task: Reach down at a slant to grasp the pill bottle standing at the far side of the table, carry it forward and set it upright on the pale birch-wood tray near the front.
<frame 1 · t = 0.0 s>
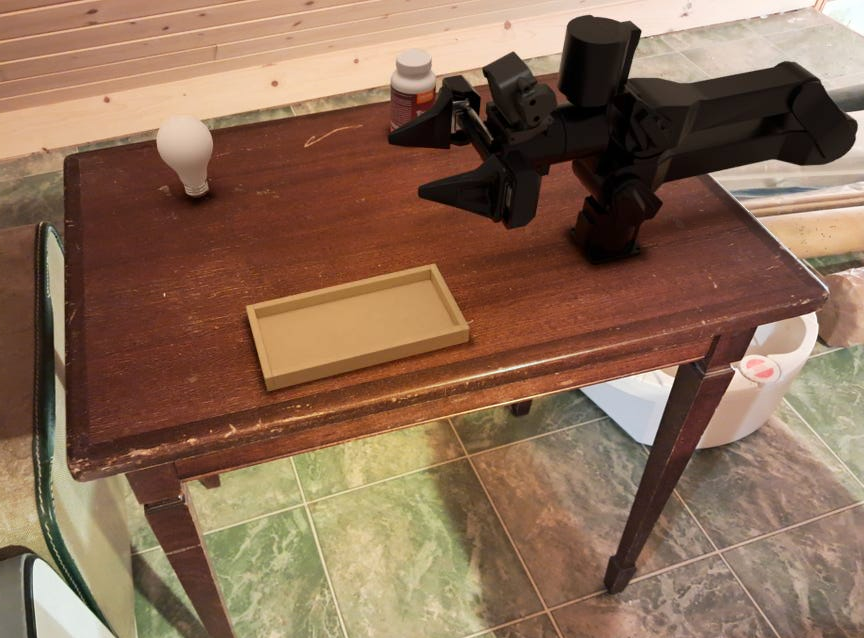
hand: (402, 164, 69), 17 cm above the table, tool horizontal, fingers open, 9 cm apart
pill bottle: (412, 133, 102), on the table
light bulb: (198, 196, 94), on the table
tray: (356, 330, 78), on the table
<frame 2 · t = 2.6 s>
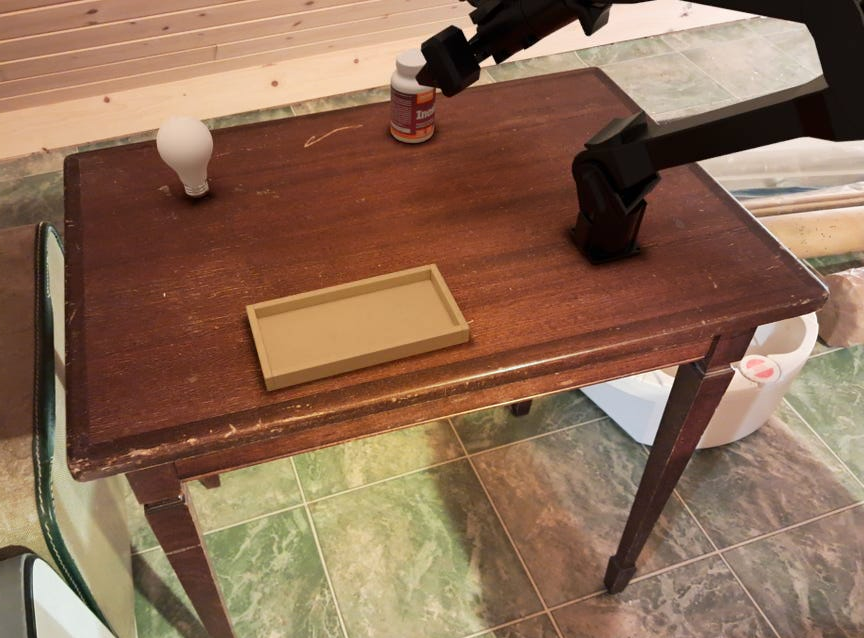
hand: (441, 65, 86), 14 cm above the table, tool tilted 50°, fingers open, 9 cm apart
nothing on the table moved.
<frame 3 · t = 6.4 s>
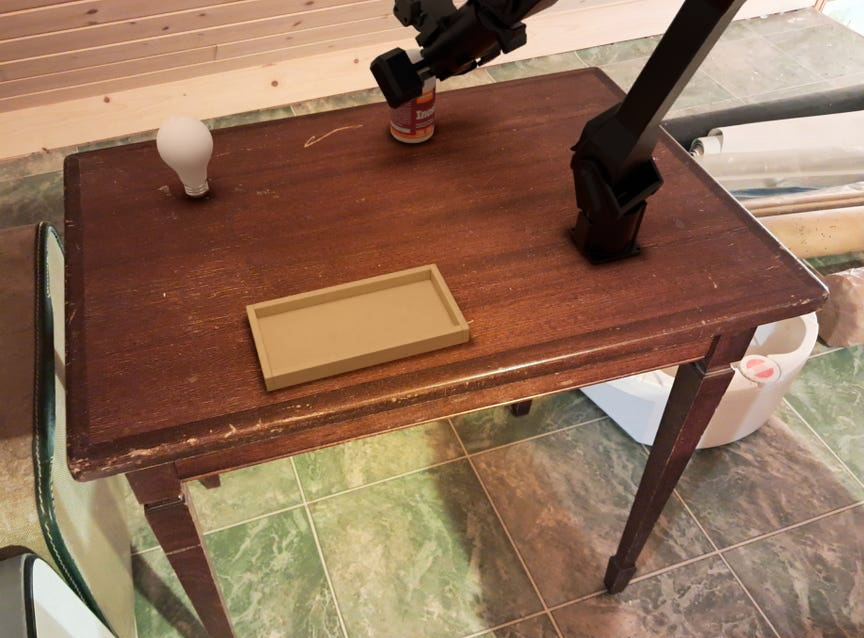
hand: (406, 84, 98), 7 cm above the table, tool tilted 45°, fingers closed on pill bottle, 6 cm apart
pill bottle: (412, 133, 102), on the table, touching gripper
everything else where it was.
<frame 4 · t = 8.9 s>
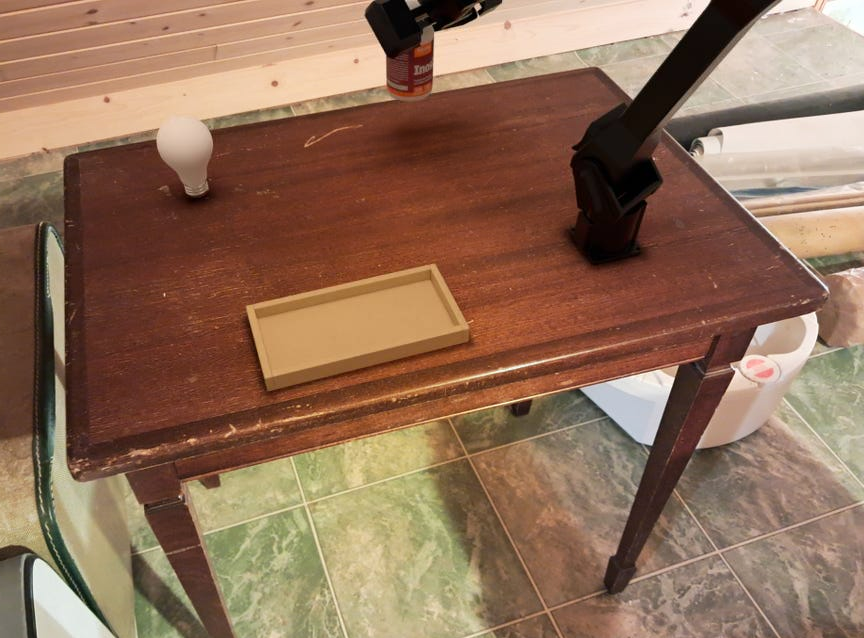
hand: (402, 39, 93), 13 cm above the table, tool tilted 45°, fingers closed on pill bottle, 6 cm apart
pill bottle: (409, 92, 97), point 6 cm above the table, touching gripper
everything else where it was.
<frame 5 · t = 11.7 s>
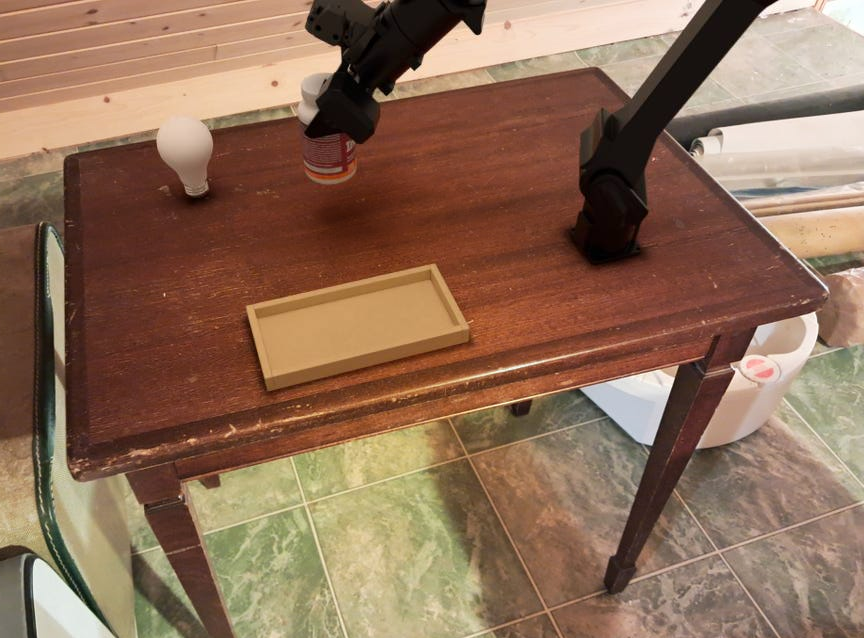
hand: (314, 119, 81), 13 cm above the table, tool tilted 45°, fingers closed on pill bottle, 6 cm apart
pill bottle: (331, 172, 85), point 6 cm above the table, touching gripper
everything else where it was.
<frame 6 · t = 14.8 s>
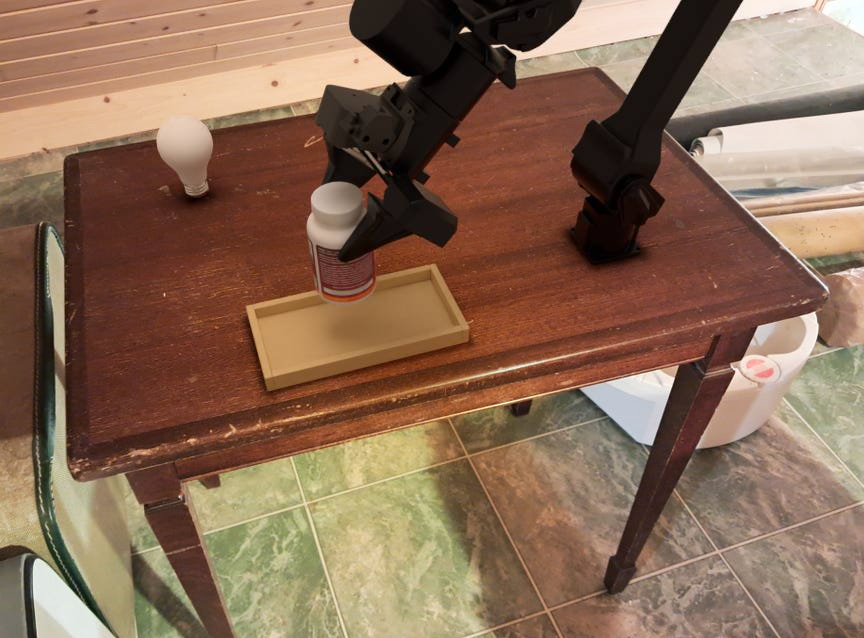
hand: (327, 239, 67), 13 cm above the table, tool tilted 45°, fingers closed on pill bottle, 6 cm apart
pill bottle: (346, 288, 73), point 6 cm above the table, touching gripper
everything else where it was.
when the fingers open (7 cm above the table, at t = 17.2 s): pill bottle stays where it is, resting on tray.
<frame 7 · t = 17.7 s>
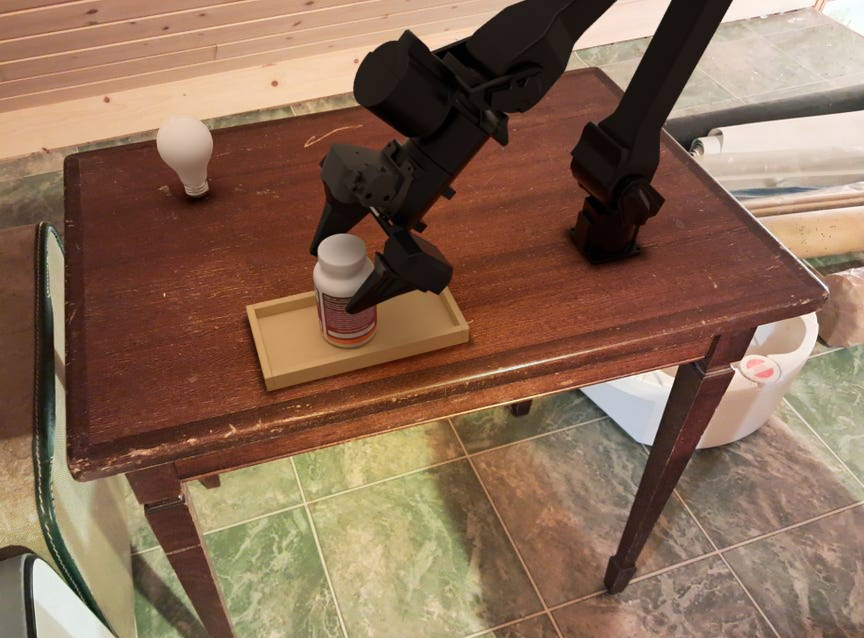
hand: (329, 282, 71), 8 cm above the table, tool tilted 45°, fingers open, 9 cm apart
pill bottle: (348, 329, 77), resting on tray
everything else where it was.
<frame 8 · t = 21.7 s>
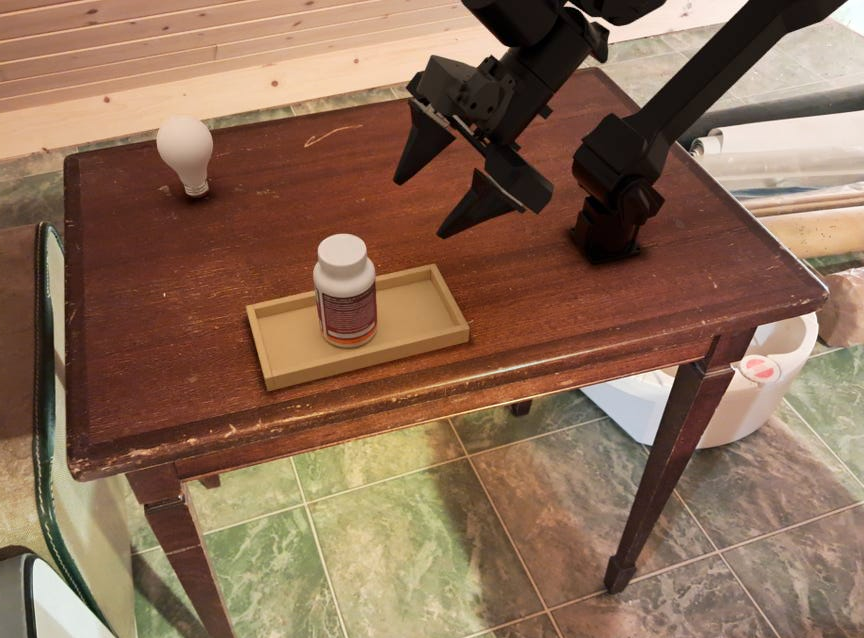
hand: (416, 209, 69), 14 cm above the table, tool tilted 45°, fingers open, 9 cm apart
nothing on the table moved.
at the end: pill bottle inside the target area in the tray (0.9 cm from its centre), point 0.4 cm above the tray's base; pill bottle tilted 0°; the gripper is holding nothing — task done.
